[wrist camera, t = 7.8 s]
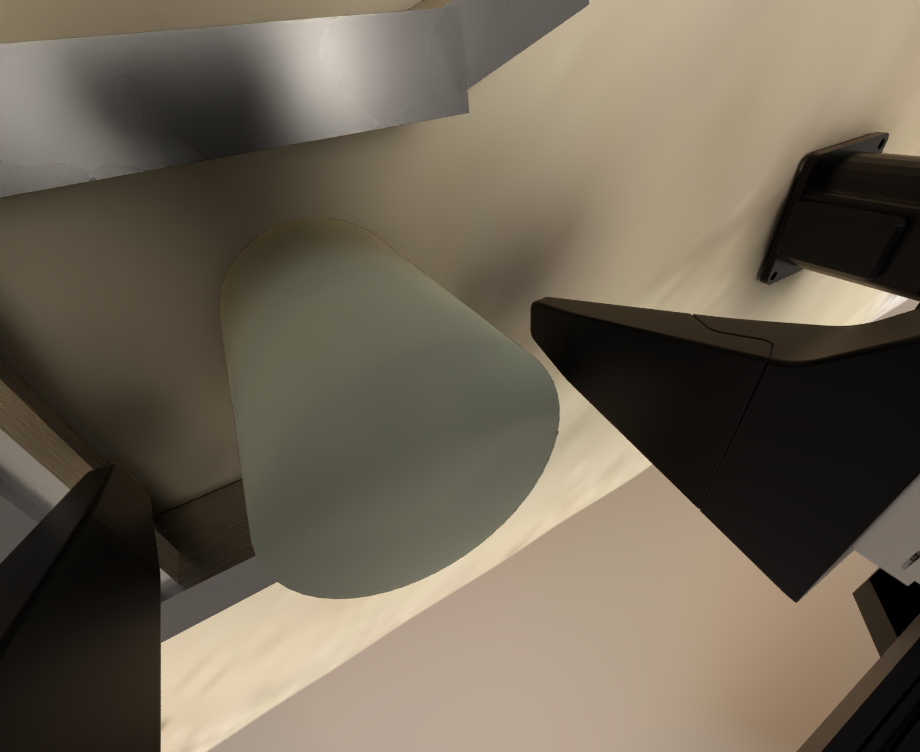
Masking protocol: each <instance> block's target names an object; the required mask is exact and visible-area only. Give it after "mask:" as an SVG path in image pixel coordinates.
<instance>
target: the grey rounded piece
mask: <svg viewBox="0 0 920 752" xmlns="http://www.w3.org/2000/svg"><path fill="white" fill-rule="evenodd" d="M219 310H220V319H221V327H222V334H223V341H224V349H225V356H226V363H227V370H228V378H229V385H230V392H231V399H232V407H233V414H234V421H235V429H236V436H237V443H238V450H239V458H240V465H241V472H242V479H243V487H244V494H245V501H246V508H247V516H248V523H249V530H250V537H251V543H252V546H253V549H254V552H255V555H256V557H257V559H258V560H259V562H260V564H261V565H262V567H263V568H264V570H265V571H266V572H267V573H268V574H269V575H270V576H271V577H272V578H273V579H274V580H275V581H277V582H279V583H280V584H282V585H283V586H285V587H287V588H288V589H291V590H293V591H296V592H298V593H301V594H304V595H308V596H313V597H318V598H329V599H349V598H359V597H366V596H372V595H376V594H380V593H385V592H388V591H392V590H395V589H398V588H401V587H404V586H407V585H409V584H412V583H414V582H417V581H419V580H422V579H424V578H426V577H428V576H430V575H432V574H434V573H436V572H438V571H440V570H442V569H443V568H445V567H447V566H449V565H451V564H452V563H454V562H455V561H457V560H458V559H460V558H462V557H463V556H465V555H466V554H467V553H469V552H470V551H472V550H473V549H474V548H476V547H477V546H478V545H480V544H481V543H482V542H483V541H485V540H486V539H487V538H488V537H489V536H491V535H492V534H493V533H494V532H495V531H496V530H497V529H498V528H499V527H500V526H501V525H503V524H504V523H505V522H506V520H507V519H508V518H509V517H510V516H511V515H512V514H513V513H514V512H515V511H516V510H517V508H518V507H519V506H520V505H521V504H522V502H523V501H524V500H525V499H526V497H527V496H528V495H529V493H530V492H531V490H532V489H533V488H534V486H535V484H536V483H537V481H538V479H539V478H540V476H541V474H542V473H543V471H544V469H545V467H546V465H547V463H548V461H549V458H550V456H551V453H552V450H553V448H554V444H555V441H556V437H557V433H558V426H559V400H558V394H557V391H556V388H555V385H554V382H553V380H552V378H551V377H550V375H549V373H548V372H547V370H546V369H545V368H544V367H543V365H542V364H541V363H540V362H539V361H538V360H537V359H536V358H534V357H533V356H532V355H531V354H529V353H528V352H527V351H525V350H524V349H523V348H521V347H520V346H519V345H517V344H516V343H515V342H513V341H512V340H511V339H510V338H508V337H507V336H506V335H504V334H503V333H502V332H500V331H499V330H498V329H496V328H495V327H494V326H493V325H491V324H490V323H489V322H487V321H486V320H485V319H483V318H482V317H481V316H479V315H478V314H477V313H476V312H474V311H473V310H472V309H470V308H469V307H468V306H466V305H465V304H464V303H462V302H461V301H460V300H459V299H457V298H456V297H455V296H453V295H452V294H451V293H449V292H448V291H447V290H445V289H444V288H443V287H442V286H440V285H439V284H438V283H436V282H435V281H434V280H432V279H431V278H430V277H428V276H427V275H426V274H425V273H423V272H422V271H421V270H419V269H418V268H417V267H415V266H414V265H413V264H411V263H410V262H409V261H408V260H406V259H405V258H404V257H402V256H401V255H400V254H398V253H397V252H396V251H394V250H393V249H392V248H391V247H389V246H388V245H387V244H385V243H384V242H383V241H381V240H380V239H379V238H377V237H376V236H375V235H373V234H372V233H370V232H368V231H367V230H365V229H363V228H361V227H359V226H356V225H354V224H351V223H348V222H344V221H340V220H336V219H327V218H307V219H301V220H295V221H291V222H288V223H285V224H282V225H279V226H277V227H274V228H272V229H270V230H268V231H266V232H265V233H263V234H262V235H260V236H259V237H257V238H256V239H254V240H253V241H252V242H251V243H250V244H249V245H248V246H246V247H245V248H244V249H243V250H242V252H241V253H240V254H239V255H238V256H237V258H236V259H235V260H234V262H233V264H232V265H231V267H230V269H229V270H228V273H227V275H226V278H225V280H224V283H223V286H222V291H221V295H220V309H219Z"/></svg>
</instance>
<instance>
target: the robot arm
mask: <svg viewBox="0 0 920 752" xmlns="http://www.w3.org/2000/svg"><path fill="white" fill-rule="evenodd" d="M888 137H889V133H882V132H876V133H873V134H870V135H867V136H864V137H861V138H858V139H854V140H851V141H848V142H845V143H842V144H839V145H836V146H833V147H830V148H827V149H823V150H820V151H817V152H814V153H812V154H811V155H810V156H809V157H808V158H807V160H806V161H805V163H804V165H803V168H802V170H801V173H800V176H799V178H798V181H797V183H796V186H795V189H794V191H793V194H792V196H791V199H790V202H789V204H788V207H787V209H786V212H785V215H784V217H783V220H782V222H781V225H780V228H779V230H778V233H777V235H776V238H775V241H774V243H773V246H772V248H771V251H770V254H769V256H768V259H767V261H766V264H765V267H764V269H763V272H762V274H761V277H760V282H762V283H765V284H768V285H770V284H772V283H775V282H777V281H779V280H781V279H783V278H785V277H787V276H789V275H791V274H793V273H796V272H798V271H800V270H802V269H807V270H811V271H814V272H818V273H821V274H825V275H828V276H832V277H835V278H839V279H842V280H846V281H849V282H853V283H856V284H860V285H863V286H867V287H870V288H874V289H877V290H881V291H884V292H888V293H891V294H895V295H898V296H902V297H906V298H909V299H913V300H916V301H920V156H909V155H897V154H886V153H882V151H883V149H884V147H885V144H886V142H887V140H888ZM530 330H531V335H532V337H533V339H534V341H535V342H536V343H537V344H538V346H539V347H540V348H541V349H542V350H543V352H544V353H545V354H546V355H547V356H548V358H549V359H550V360H551V361H552V363H553V364H554V365H555V366H556V367H557V369H558V370H559V371H560V372H561V374H562V375H563V376H564V377H565V378H566V379H567V380H568V381H569V382H570V383H571V384H572V386H573V387H575V388H576V389H577V390H578V391H579V392H580V393H581V394H582V395H583V396H584V397H585V398H586V399H587V400H588V401H589V402H590V403H591V404H592V405H593V406H594V407H595V408H596V409H597V410H598V411H599V412H600V413H601V414H602V415H603V416H604V417H605V418H606V419H607V420H608V421H609V422H610V423H611V424H612V425H613V426H614V427H615V428H616V429H617V430H618V431H619V432H620V433H622V434H623V435H624V436H625V437H626V438H627V439H628V440H629V441H630V442H631V443H632V444H633V445H634V446H635V447H636V448H637V449H638V450H639V451H640V452H641V453H642V454H643V455H644V456H645V457H646V458H647V459H648V460H649V461H650V462H651V463H652V464H653V465H654V466H655V467H656V468H657V469H658V470H659V471H660V472H662V474H664V475H665V477H666V478H668V479H669V480H670V481H671V482H672V483H673V484H674V485H675V486H676V487H677V488H678V489H679V490H680V491H681V492H682V493H683V494H684V495H685V496H686V497H687V498H688V499H689V500H690V501H691V502H692V503H693V504H694V505H695V506H696V507H697V508H699V509H700V511H701V512H702V513H703V514H704V515H705V516H706V517H707V518H708V519H709V520H710V521H711V522H712V523H713V524H714V525H715V526H716V527H717V528H718V529H719V530H720V531H721V532H722V533H723V534H724V535H725V536H727V537H728V538H729V539H730V540H731V541H732V542H733V543H734V544H735V545H736V546H737V547H738V548H739V549H740V550H741V551H742V552H743V553H744V554H745V555H746V556H747V557H748V558H749V559H750V560H751V561H752V562H753V563H754V564H755V565H756V566H757V567H758V568H759V569H760V570H761V571H762V572H763V573H764V574H765V575H766V576H767V577H768V578H769V579H770V580H771V581H772V582H773V583H774V584H775V585H776V586H778V587H779V588H780V589H781V590H782V591H783V592H784V593H785V594H786V595H787V596H788V597H789V598H791V599H792V600H793V601H794V602H796V603H797V602H798V601H799V600H800V599H802V598H803V597H804V596H805V595H806V594H807V593H808V592H809V591H810V590H811V589H812V588H813V587H815V586H816V585H817V584H818V583H819V582H820V581H821V580H822V579H823V578H824V577H825V576H827V575H828V574H829V573H830V572H831V571H832V570H833V569H834V568H835V567H836V566H837V565H838V564H839V563H841V562H842V561H843V560H844V559H845V558H846V557H847V556H848V555H849V554H850V553H851V552H853V551H854V550H855V551H856V552H858V553H859V554H860V555H862V556H863V557H865V558H866V559H868V560H869V561H871V562H872V563H874V564H875V565H876V566H878V567H879V568H878V569H877V570H876V571H875V572H874V573H873V574H872V575H871V576H870V577H869V578H868V579H867V580H866V581H865V582H864V583H863V584H862V585H861V586H860V587H859V588H857V589H856V590H855V592H853V596H854V598H855V600H856V602H857V605H858V607H859V609H860V612H861V614H862V616H863V619H864V621H865V623H866V625H867V628H868V630H869V632H870V634H871V637H872V639H873V642H874V644H875V646H876V649H877V651H878V653H879V655H880V659H879V660H878V661H877V662H876V663H875V664H874V665H873V666H872V668H871V669H870V670H869V671H868V672H867V673H866V674H865V675H864V677H863V678H862V679H861V680H860V681H859V682H858V683H857V684H856V686H855V687H854V688H853V689H852V690H851V691H850V692H849V693H848V695H847V696H846V697H845V698H844V699H843V700H842V701H841V702H840V704H839V705H838V706H837V707H836V708H835V709H834V710H833V711H832V713H831V714H830V715H829V716H828V717H827V718H826V719H825V720H824V722H823V723H822V724H821V725H820V726H819V727H818V728H817V729H816V730H815V732H814V733H813V734H812V735H811V736H810V737H809V738H808V739H807V741H806V742H805V743H804V744H803V745H802V746H801V747H800V748H799V750H798V751H797V752H920V303H919V304H918V306H917V307H916V308H915V310H912V311H909V312H906V313H902V314H899V315H896V316H893V317H889V318H886V319H883V320H879V321H875V322H871V323H866V324H860V325H851V326H824V325H810V324H796V323H783V322H769V321H756V320H744V319H733V318H724V317H714V316H706V315H697V314H693V315H691V314H688V313H680V312H671V311H663V310H654V309H646V308H637V307H629V306H621V305H612V304H604V303H595V302H587V301H578V300H570V299H561V298H553V297H544V298H542V299H539V300H537V301H534V302H533V303H532V305H531V328H530ZM0 752H161V575H160V564H159V556H158V549H157V543H156V536H155V529H154V522H153V515H152V508H151V502H150V498H149V495H148V493H147V491H146V490H145V489H144V488H143V486H142V485H141V484H140V483H139V482H138V481H137V480H136V479H135V478H134V477H133V476H132V475H131V474H130V473H129V472H128V471H127V470H126V469H125V468H124V467H123V466H122V465H120V464H119V463H109V464H107V465H104V466H102V467H99V468H96V469H94V470H91V471H89V472H87V473H86V474H85V475H84V476H83V477H82V478H81V479H80V480H79V481H78V482H77V483H76V484H75V486H74V487H73V488H72V489H71V490H70V491H69V492H68V493H67V494H66V495H65V496H64V497H63V498H62V499H61V500H60V501H59V502H58V503H57V504H56V505H55V507H54V508H53V509H52V510H51V511H50V512H49V513H48V514H47V515H46V516H45V517H44V518H43V519H42V520H41V521H40V522H39V523H38V524H37V525H36V527H35V528H34V529H33V530H32V531H31V532H30V533H29V534H28V535H27V536H26V537H25V538H24V539H23V540H22V541H21V542H20V543H19V544H18V545H17V547H16V548H15V549H14V550H13V551H12V552H11V553H10V554H9V555H8V556H7V557H6V558H5V559H4V560H3V561H2V562H1V563H0Z"/></svg>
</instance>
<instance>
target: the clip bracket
mask: <svg viewBox="0 0 920 752" xmlns="http://www.w3.org/2000/svg"><path fill="white" fill-rule="evenodd" d="M587 5H589V0H423V1H421V2H420V3H418V4H416V5H415V6H413V7H412V8H410V9H409V10H407V11H399V12H386V13H374V14H362V15H349V16H337V17H325V18H312V19H300V20H288V21H275V22H263V23H251V24H238V25H226V26H213V27H201V28H189V29H176V30H164V31H152V32H139V33H127V34H115V35H102V36H90V37H78V38H65V39H53V40H40V41H28V42H16V43H3V44H0V197H6V196H11V195H17V194H22V193H28V192H33V191H39V190H45V189H50V188H56V187H61V186H67V185H72V184H78V183H83V182H89V181H94V180H100V179H105V178H111V177H116V176H122V175H127V174H133V173H138V172H144V171H149V170H155V169H161V168H166V167H172V166H177V165H183V164H188V163H194V162H199V161H205V160H210V159H216V158H221V157H227V156H232V155H238V154H243V153H249V152H254V151H260V150H266V149H271V148H277V147H282V146H288V145H293V144H299V143H304V142H310V141H315V140H321V139H326V138H332V137H337V136H343V135H348V134H354V133H359V132H365V131H371V130H376V129H382V128H387V127H393V126H398V125H404V124H409V123H415V122H420V121H426V120H431V119H437V118H442V117H448V116H453V115H459V114H464V113H469V106H468V93H467V89H469V88H470V87H472V86H473V85H474V84H476V83H477V82H479V81H480V80H482V79H483V78H484V77H486V76H487V75H489V74H490V73H492V72H493V71H494V70H496V69H497V68H499V67H500V66H502V65H503V64H504V63H506V62H507V61H509V60H510V59H512V58H513V57H515V56H516V55H517V54H519V53H520V52H522V51H523V50H525V49H526V48H527V47H529V46H530V45H532V44H533V43H535V42H536V41H537V40H539V39H540V38H542V37H543V36H545V35H546V34H547V33H549V32H550V31H552V30H553V29H555V28H556V27H557V26H559V25H560V24H562V23H563V22H565V21H566V20H567V19H569V18H570V17H572V16H573V15H575V14H576V13H577V12H579V11H580V10H582V9H583V8H585V7H586V6H587ZM557 435H558V433H557ZM104 465H107V464H106V463H105V462H104V461H103V460H102V459H101V458H100V457H99V456H98V455H97V454H96V453H95V452H94V451H93V450H92V449H91V448H90V447H89V446H88V445H87V444H86V443H85V442H84V441H83V440H82V439H81V438H80V437H79V436H78V435H77V434H76V433H75V432H74V431H73V430H72V429H71V428H70V427H69V426H68V425H67V424H66V423H65V422H64V421H63V420H62V419H61V418H60V417H59V416H58V415H57V414H56V413H55V412H54V411H53V410H52V409H51V408H50V407H49V406H48V404H47V403H46V402H45V401H44V400H43V399H42V398H41V397H40V396H39V395H38V394H37V393H36V392H35V391H34V390H33V389H32V388H31V387H30V386H29V385H28V384H27V383H26V382H25V381H24V380H23V379H22V378H21V377H20V376H19V375H18V374H17V373H16V372H15V371H14V370H13V369H12V368H11V367H10V366H9V365H8V364H7V363H6V362H5V361H4V360H3V359H2V358H1V357H0V563H1V562H2V561H3V560H4V559H5V558H6V557H7V556H8V555H9V554H10V553H11V552H12V551H13V550H14V549H15V548H16V547H17V545H18V544H19V543H20V542H21V541H22V540H23V539H24V538H25V537H26V536H27V535H28V534H29V533H30V532H31V531H32V530H33V529H34V528H35V527H36V525H37V524H38V523H39V522H40V521H41V520H42V519H43V518H44V517H45V516H46V515H47V514H48V513H49V512H50V511H51V510H52V509H53V508H54V507H55V505H56V504H57V503H58V502H59V501H60V500H61V499H62V498H63V497H64V496H65V495H66V494H67V493H68V492H69V491H70V490H71V489H72V488H73V487H74V486H75V484H76V483H77V482H78V481H79V480H80V479H81V478H82V477H83V476H84V475H85V474H86V473H87V472H89V471H91V470H94V469H96V468H99V467H102V466H104ZM152 515H153V522H154V529H155V536H156V543H157V549H158V556H159V564H160V575H161V643H162V642H164V641H166V640H167V639H169V638H171V637H173V636H175V635H177V634H179V633H181V632H183V631H185V630H186V629H188V628H190V627H192V626H194V625H196V624H198V623H200V622H202V621H204V620H205V619H207V618H209V617H211V616H213V615H215V614H217V613H219V612H221V611H223V610H224V609H226V608H228V607H230V606H232V605H234V604H236V603H238V602H240V601H242V600H243V599H245V598H247V597H249V596H251V595H253V594H255V593H257V592H259V591H261V590H263V589H264V588H266V587H268V586H270V585H272V584H274V583H276V582H277V581H275V580H274V579H273V578H272V577H271V576H270V575H269V574H268V573H267V572H266V571H265V570H264V568H263V567H262V565H261V564H260V562H259V560H258V559H257V557H256V555H255V552H254V549H253V546H252V543H251V537H250V530H249V523H248V516H247V508H246V501H245V494H244V487H243V480H240V481H238V482H236V483H233V484H231V485H229V486H226V487H224V488H222V489H219V490H217V491H215V492H213V493H210V494H208V495H206V496H203V497H201V498H199V499H196V500H194V501H192V502H189V503H187V504H185V505H183V506H180V507H178V508H176V509H173V510H171V511H169V512H166V513H164V514H162V515H159V516H158V515H157V514H156V513H155V512H154V511H153V510H152Z"/></svg>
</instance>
